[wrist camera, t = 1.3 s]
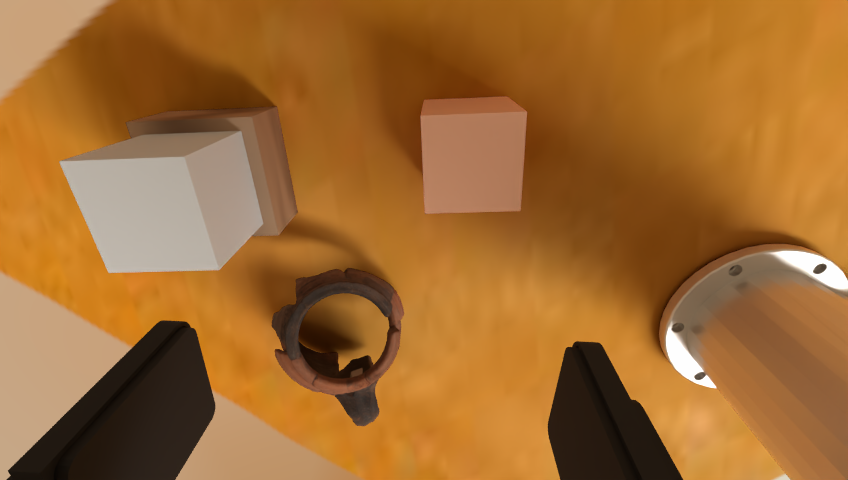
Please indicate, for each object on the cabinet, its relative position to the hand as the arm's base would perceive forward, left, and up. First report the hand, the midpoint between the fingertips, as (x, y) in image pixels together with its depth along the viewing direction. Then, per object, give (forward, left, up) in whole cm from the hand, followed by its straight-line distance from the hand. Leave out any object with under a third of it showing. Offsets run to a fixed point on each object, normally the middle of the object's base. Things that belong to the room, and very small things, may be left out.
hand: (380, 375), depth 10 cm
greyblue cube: (+12, -1, -14) cm, 19 cm away
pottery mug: (+6, +12, -18) cm, 23 cm away
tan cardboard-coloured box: (+12, -1, -18) cm, 22 cm away
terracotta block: (-3, -2, -18) cm, 18 cm away
